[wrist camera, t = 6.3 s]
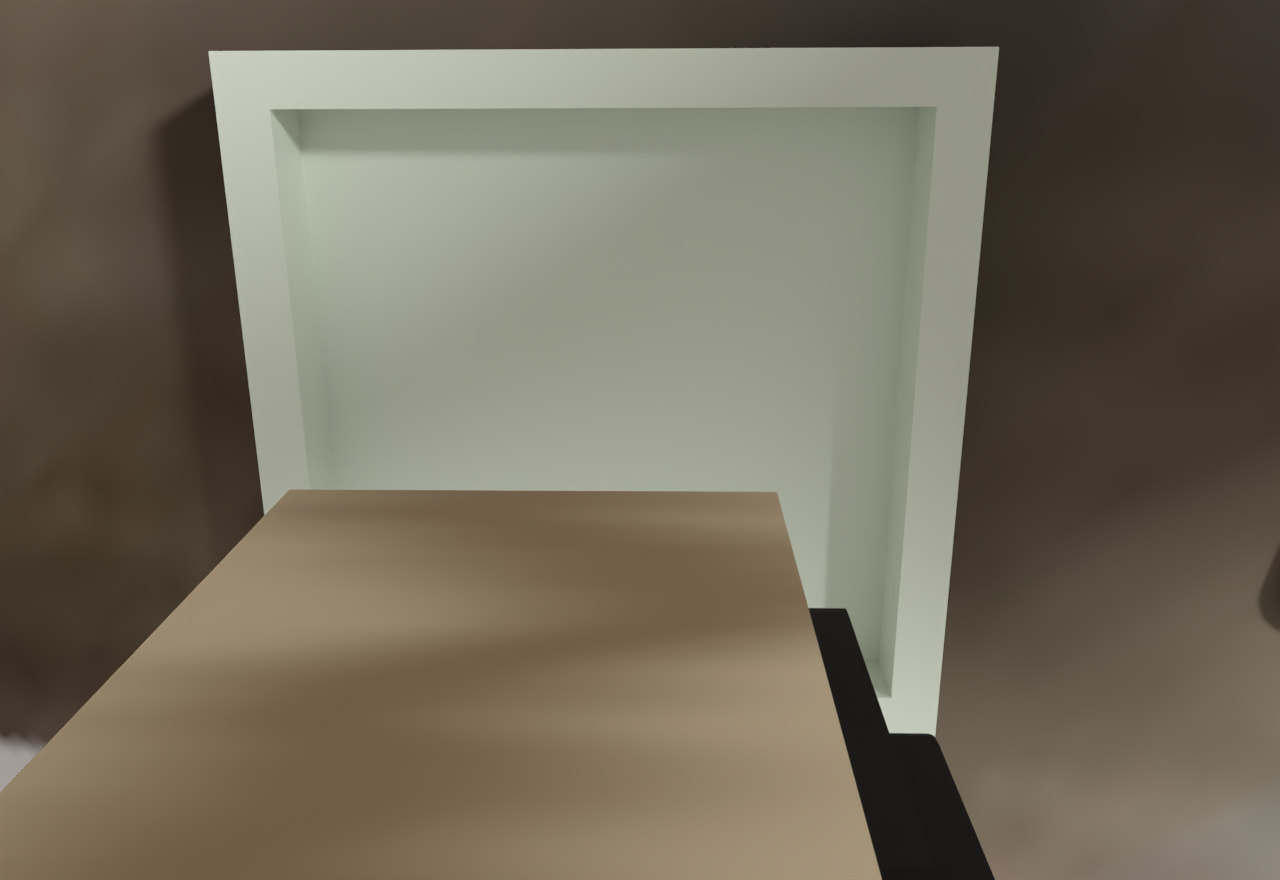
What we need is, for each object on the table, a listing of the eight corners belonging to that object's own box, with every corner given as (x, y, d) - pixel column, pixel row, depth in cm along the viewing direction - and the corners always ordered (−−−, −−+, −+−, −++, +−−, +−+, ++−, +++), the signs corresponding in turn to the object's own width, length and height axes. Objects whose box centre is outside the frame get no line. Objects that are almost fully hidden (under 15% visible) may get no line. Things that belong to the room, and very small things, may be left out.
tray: (963, 51, 21) (999, 46, 19) (910, 678, 26) (935, 739, 23) (259, 55, 22) (208, 51, 19) (325, 672, 26) (290, 731, 24)
